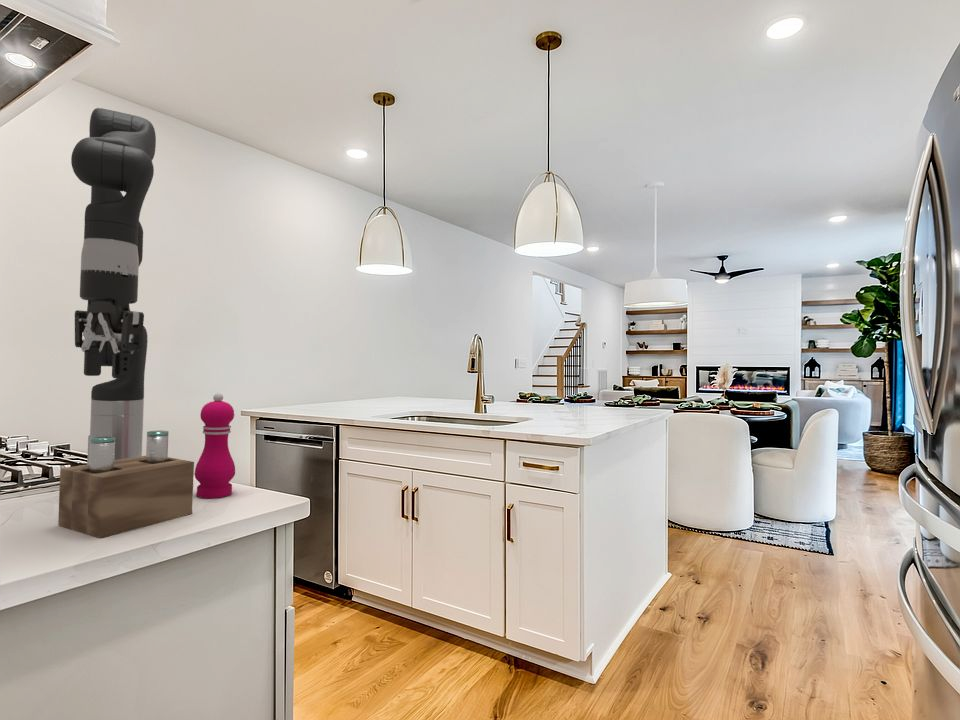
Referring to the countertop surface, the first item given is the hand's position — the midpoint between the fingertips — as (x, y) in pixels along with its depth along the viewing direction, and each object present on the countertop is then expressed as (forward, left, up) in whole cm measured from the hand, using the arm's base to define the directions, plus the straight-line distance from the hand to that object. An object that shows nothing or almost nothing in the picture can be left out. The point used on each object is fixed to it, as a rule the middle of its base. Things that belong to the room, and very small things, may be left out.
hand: (106, 376), depth 85 cm
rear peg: (0, +9, -19) cm, 21 cm away
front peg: (0, 0, -19) cm, 19 cm away
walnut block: (0, +4, -24) cm, 24 cm away
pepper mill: (-2, +22, -24) cm, 33 cm away
